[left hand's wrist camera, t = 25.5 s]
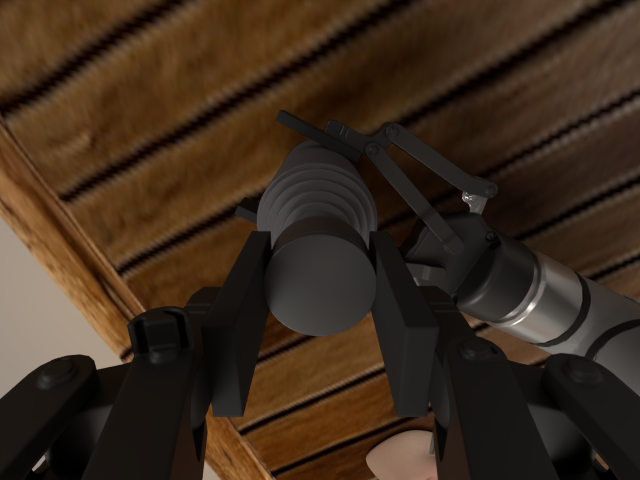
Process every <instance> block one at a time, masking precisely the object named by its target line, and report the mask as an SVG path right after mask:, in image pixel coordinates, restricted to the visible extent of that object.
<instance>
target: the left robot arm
mask: <svg viewBox="0 0 640 480" xmlns="http://www.w3.org/2000/svg"><path fill="white" fill-rule="evenodd" d="M271 251H272V245H271V231H252V232H251V234H250V236H249V238H248V239H247V241H246V243H245V245H244V247H243V249H242V251H241V253H240V254H239V256H238V258H237V260H236V262H235V264H234V266H233V267H232V269H231V271H230V273H229V275H228V277H227V279H226V281H225V282H224V284H223V286H222V287H203V288H202V289H200V290H199V291H197V292H196V293H194V294H193V295H192V296H191V298H190V299H189V301H188V302H187V304H186V306H185V307H184V308H180V307H176V306H165V307H160V308H154V309H151V310H149V311H146V312H143V313H141V314H140V315H138V316H136V317H135V318H133V319H132V320H131V321H130V323H129V324H128V325H127V327H128V331H129V336H130V340H131V344H132V349H133V353H134V358H133V360H132V362H129V363H126V364H122V365H117V366H113V367H108V368H103V369H98V370H97V369H96V366H95V362H94V360H93V359H92V358H90V357H89V356H85V355H80V354H79V355H68V356H64V357H61V358H56V359H53V360H51V361H50V362H47V363H45V364H43V365H41V366H39V367H38V368H37V369H35V370H34V371H32V372H31V373H29V374H28V375H27V376H26V377H25V378H24V379H22V380H21V381H20V382H19V383H18V384H17V385H16V386H15V387H13V388H12V389H11V390H10V391H9V392H8V393H7V394H5V395H4V396H3V397H2V398H1V399H0V480H202V478H203V469H204V460H205V450H206V441H207V424H206V418H205V417H206V414H207V411H208V408H209V406H210V403H211V404H212V411H213V417H243V415H244V411H245V406H246V402H247V398H248V394H249V390H250V386H251V382H252V378H253V374H254V370H255V366H256V362H257V358H258V354H259V350H260V346H261V341H262V337H263V333H264V329H265V325H266V321H267V317H268V313H269V307H268V305H267V303H266V300H265V290H264V272H265V269H266V266H267V263H268V260H269V257H270V254H271ZM368 251H369V254H370V257H371V260H372V263H373V266H374V269H375V272H376V294H375V300H374V303H373V305H372V307H371V312H372V316H373V320H374V324H375V328H376V332H377V336H378V341H379V345H380V349H381V353H382V357H383V361H384V365H385V369H386V373H387V377H388V381H389V385H390V389H391V393H392V397H393V401H394V406H395V410H396V414H397V417H427V412H428V405H429V401H430V403H431V406H432V409H433V411H434V414H435V418H434V424H433V431H432V437H431V444H430V451H429V454H432V455H434V450H435V459H436V468H437V477H438V480H640V396H639V395H637V394H636V393H635V392H634V391H633V390H632V389H631V388H629V387H628V386H627V385H626V384H625V383H624V382H623V381H621V380H620V379H619V378H618V377H617V376H616V375H615V374H613V373H612V372H611V371H610V370H608V369H607V368H605V367H604V366H602V365H601V364H599V363H597V362H595V361H593V360H590V359H589V358H586V357H583V356H580V355H575V354H568V353H558V354H552V355H551V356H550V357H548V358H547V360H546V363H545V367H544V368H540V367H535V366H530V365H526V364H521V363H517V362H513V361H509V360H508V359H507V357H506V355H505V354H504V352H503V351H502V350H501V348H499V347H498V346H497V345H495V344H494V343H493V342H491V341H488V340H486V339H484V338H482V337H478V336H476V334H475V333H474V331H473V330H472V328H471V327H470V325H469V324H468V322H467V321H466V320H465V318H464V317H463V315H462V314H461V313H460V312H459V309H458V308H457V306H456V305H454V302H453V300H452V299H451V297H450V296H449V294H448V293H446V292H445V291H443V290H442V289H440V288H439V287H437V286H417V284H416V282H415V280H414V278H413V276H412V274H411V273H410V271H409V269H408V267H407V265H406V263H405V261H404V260H403V258H402V256H401V254H400V252H399V250H398V248H397V246H396V245H395V243H394V241H393V239H392V237H391V235H390V233H389V232H388V231H369V249H368ZM597 453H598V455H599V456H600V457H601V458H602V459H603V461H604V462H605V463H606V464H607V465H608V467H609V469H608V470H606V469H605V468H604V467H603V466H602V465H601V464H600V463H599V462H598V460H597V459H596V458H595V456H596V454H597ZM43 455H45V458H46V459H45V460H44V462H43V463H42V464H41V465H40V466H39V467H38V468H37V469H36V470H35V471H32V468H33V467H34V466H35V465H36V464H37V462H38V461H39V460H40V459H41V458H42V456H43Z"/></svg>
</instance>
